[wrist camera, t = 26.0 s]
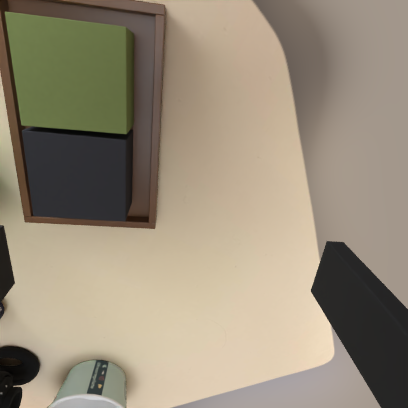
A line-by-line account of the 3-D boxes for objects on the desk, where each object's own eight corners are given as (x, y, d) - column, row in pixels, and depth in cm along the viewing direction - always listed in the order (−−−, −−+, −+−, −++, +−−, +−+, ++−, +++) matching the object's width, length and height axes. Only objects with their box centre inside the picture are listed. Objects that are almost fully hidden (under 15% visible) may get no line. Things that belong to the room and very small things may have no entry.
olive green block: (134, 33, 28) (126, 26, 23) (133, 124, 31) (126, 134, 27) (33, 20, 27) (4, 11, 22) (44, 116, 30) (21, 125, 26)
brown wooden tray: (-2, -15, 26) (-15, -22, 24) (165, 8, 28) (165, 4, 26) (32, 214, 35) (24, 222, 33) (156, 221, 37) (155, 229, 35)
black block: (133, 129, 32) (126, 140, 27) (132, 201, 35) (125, 221, 31) (44, 121, 30) (21, 130, 26) (52, 196, 34) (33, 216, 29)
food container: (55, 353, 45) (37, 396, 39) (135, 354, 46) (130, 396, 40) (61, 402, 50) (45, 448, 44) (133, 402, 51) (128, 446, 45)
